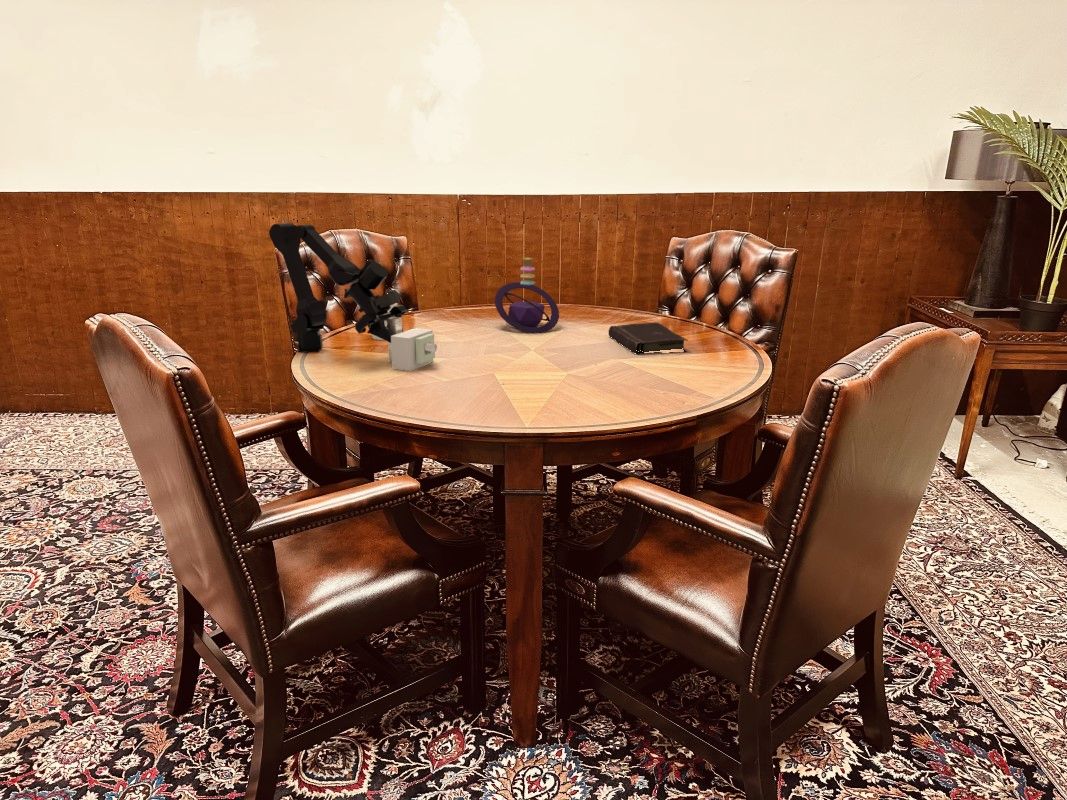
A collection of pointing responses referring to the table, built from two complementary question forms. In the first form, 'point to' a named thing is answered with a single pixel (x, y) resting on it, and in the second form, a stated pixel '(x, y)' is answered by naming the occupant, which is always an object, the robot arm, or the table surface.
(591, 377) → the table surface
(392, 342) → the block
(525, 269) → the decorative bottle
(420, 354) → the spacer
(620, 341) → the diary
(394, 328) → the grey piece
